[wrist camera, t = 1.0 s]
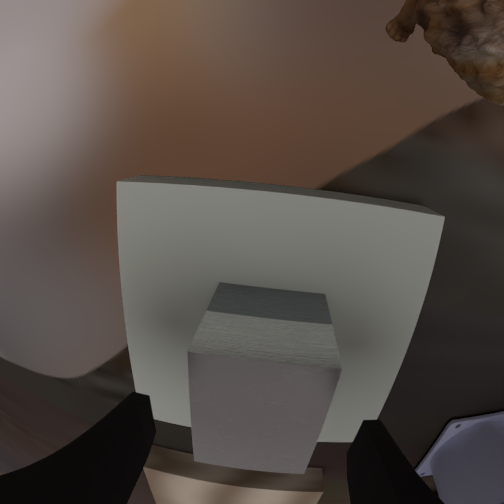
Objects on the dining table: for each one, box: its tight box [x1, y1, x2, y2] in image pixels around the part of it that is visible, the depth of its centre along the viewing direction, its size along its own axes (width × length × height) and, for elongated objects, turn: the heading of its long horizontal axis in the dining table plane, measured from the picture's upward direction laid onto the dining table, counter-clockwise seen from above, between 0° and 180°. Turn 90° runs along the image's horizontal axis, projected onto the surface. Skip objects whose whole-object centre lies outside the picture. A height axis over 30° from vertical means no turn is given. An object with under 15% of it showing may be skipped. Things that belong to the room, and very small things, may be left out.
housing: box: [187, 282, 342, 474], centre depth 12 cm, size 4×6×5 cm
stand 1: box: [117, 175, 445, 442], centre depth 16 cm, size 14×14×2 cm
